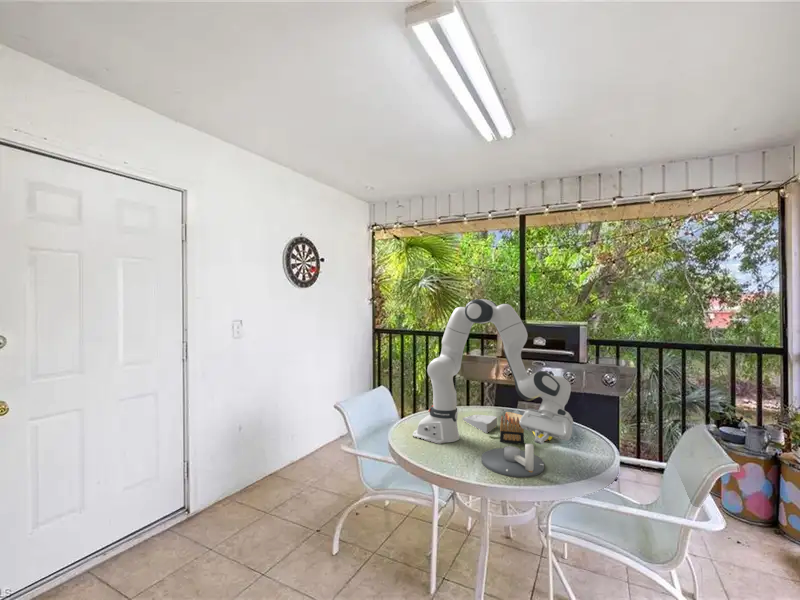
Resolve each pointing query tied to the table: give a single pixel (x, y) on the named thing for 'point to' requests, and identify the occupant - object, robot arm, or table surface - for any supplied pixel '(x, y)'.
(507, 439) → the ammunition clip
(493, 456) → the dial plate
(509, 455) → the dial lever
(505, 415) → the bread slice
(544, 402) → the robot arm
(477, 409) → the table surface
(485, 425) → the ramp
